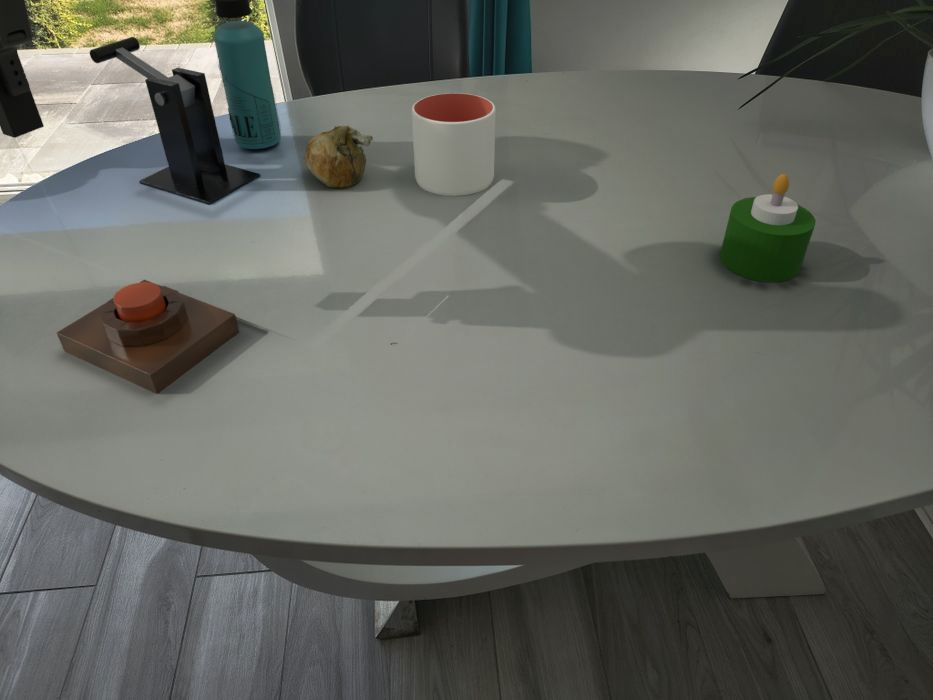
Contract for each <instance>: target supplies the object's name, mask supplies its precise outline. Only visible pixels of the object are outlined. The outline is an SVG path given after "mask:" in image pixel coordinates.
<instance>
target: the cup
mask: <svg viewBox="0 0 933 700" xmlns="http://www.w3.org/2000/svg"><path fill="white" fill-rule="evenodd" d="M411 122H412V123H411V124H412V125H411V127H412V145H413V163H414V179H415V181H416V184H417V185H418V186H419V187H420V188H421V189H422V190H424V191H426V192H427V193H430V194H434V195H438V196H445V197H462V196H469V195H473V194H478V193H480V192H482V191H484V190H486V189H487V188H489V187H490V186H491V184H492V183H493V181H494V178H495V148H496V147H495V146H496V105H495V104H494V103H493V102H492V101H491V100H489V99H488V98H486V97H483V96H480V95H476V94H471V93H464V92H445V93H437V94H433V95H428V96H425V97H423V98H421V99H419V100H417V101H415V102H414V103H413V105H412V106H411Z"/></svg>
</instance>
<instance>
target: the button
mask: <svg viewBox="0 0 933 700" xmlns="http://www.w3.org/2000/svg"><path fill="white" fill-rule="evenodd" d="M139 282H140V283H139ZM139 282H135V283H132V284H128V285H126V286H124V287H122V288H120V289H119V290H118V291H116V292H115V294H114V295H113V297H112V298H113V301H114V304H115V307H116V309H117V312H118V315H119V317H120V319H121V320H123V321H124V322H142V321H146V320H149V319H152V318H155V317H156V316H158V315H159V314H161V313H163V312H164V311H165V308H166V304H165V301H164V298H163V294H162V291H161V288H160V287H159V286H158V285H159V284H157V283H155V282H152V283H149V282H150V281H149V282H141V281H139ZM154 283H155V284H154ZM156 284H157V285H156Z"/></svg>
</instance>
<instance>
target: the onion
mask: <svg viewBox="0 0 933 700" xmlns="http://www.w3.org/2000/svg"><path fill="white" fill-rule="evenodd" d="M373 139H374V137H373V136H372V135H371V134H366V133H361V132H360V131H359V130H358V129H356V128H353V127H352V126H349V125H335V126H334V128H333V129H329V130H327V131H323V132H321V133H319V134H317V135H315V136H313V137H312V138H311V139H309V141H308V143H307V145H306V148H305V152H304V153H305V154H304V161H305V165H306V167H307V168H308V169H309V171H310V172H311V174H312V175H313V176H314V177H315V179H317V180H318V181H319V182H321V183H323V184H324V185H325V186H326V187H328V188H332V189H333V188H334V189H335V188H336V189H337V188H339V189H343V188H349V187H353V186H355V185H357V184H358V183H359V182H360V180H361V179H362V178H363V176H364V173H365V170H366V164H367V157H366V154H365V153H364V149H363V146H366V147H369V146H370V145H371V142H372V141H373ZM359 145H361V146H359Z"/></svg>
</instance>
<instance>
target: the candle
mask: <svg viewBox="0 0 933 700" xmlns="http://www.w3.org/2000/svg"><path fill="white" fill-rule="evenodd" d="M789 188H790V179H789V177H788V175H787V174H785V173H781V174H780V175H778V176H777V178H776V179H775V180H774V182H773V185H772V194H770V193H769V194H761V195H758V196H751V197H745V198H742V199H740V200H737V201H736V202H735V203H733V204H732V205H731V208H730V212H729V216H728V220H727V223H726V228H725V231H724V236H723V240H722V244H721V247H720V252H719V259H720V261H721V264H723V266H724V267H725V268H726V269H728V270H729V271H731V272H732V273H734V274H736V275H737V276H740V277H743V278H745V279H748V280H752V281H757V282H763V283H764V282H766V283H779V282H785V281H789V280H791V279H793V278H795V277H796V276H798V274H799V273H800V271H801V269H802V265H803V262H804V259H805V256H806V254H807V251H808V247H809V244H810V241H811V238H812V236H813V232H814V230H815V226H816V218H815V216H814V215H813V213H811V211H810V210H808V209H807V208H805V207H803V206H802V205H800V204H797V203H796V202H795V201H794V200H793V199H791V198H789V197H786V196H785V195H786V193H787V192H788V190H789Z"/></svg>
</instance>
